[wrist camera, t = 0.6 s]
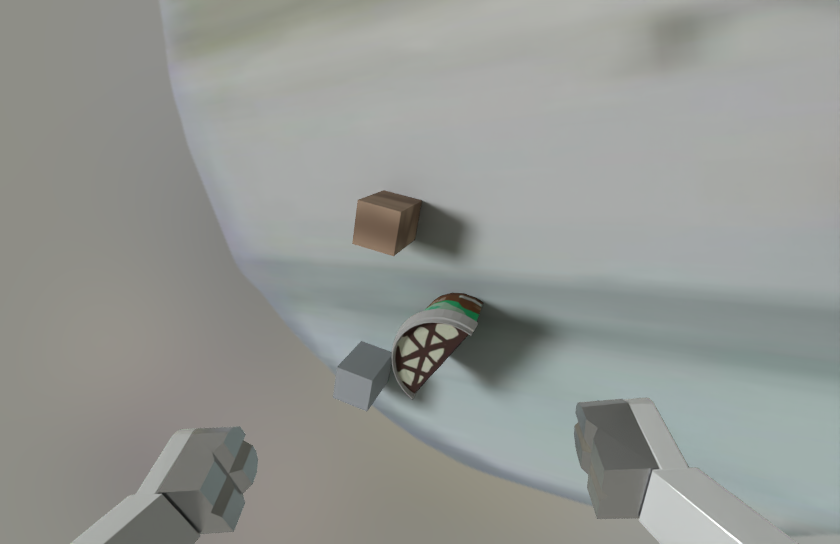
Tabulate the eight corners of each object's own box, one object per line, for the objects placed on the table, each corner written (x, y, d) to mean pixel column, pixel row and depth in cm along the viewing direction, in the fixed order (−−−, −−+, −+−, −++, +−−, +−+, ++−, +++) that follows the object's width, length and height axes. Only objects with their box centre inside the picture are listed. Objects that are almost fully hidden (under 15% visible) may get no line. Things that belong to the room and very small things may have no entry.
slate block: (361, 341, 58) (336, 367, 52) (393, 352, 57) (372, 380, 51) (357, 369, 60) (333, 397, 54) (388, 381, 59) (367, 411, 53)
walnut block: (383, 190, 49) (357, 200, 43) (422, 200, 48) (401, 211, 42) (378, 229, 51) (352, 243, 45) (414, 239, 50) (393, 256, 44)
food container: (451, 263, 50) (426, 293, 41) (490, 294, 49) (474, 332, 41) (399, 328, 55) (367, 368, 46) (435, 357, 55) (409, 402, 46)
